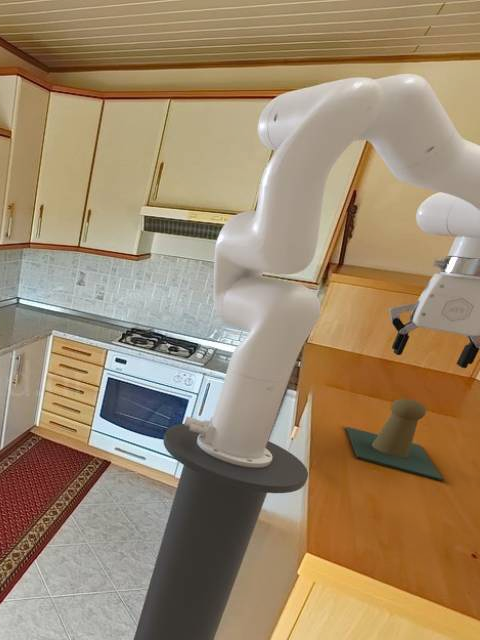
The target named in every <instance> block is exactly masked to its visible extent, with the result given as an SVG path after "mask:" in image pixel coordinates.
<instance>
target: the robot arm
mask: <svg viewBox="0 0 480 640" xmlns="http://www.w3.org/2000/svg"><path fill="white" fill-rule="evenodd" d="M257 134H258V138H259V141H260V142H261V144H262V145H263V146H265V147H266V148H267V149H270V150H273V151H275V152H274V153H273V155H272V156H271V158H270V159H269V161H268V163H267V165H266V166H265V168H264V170H263V173H262V176H261V178H260V182H259V186H258V187H259V188H258V195H257V201H256V202H257V203H256V209H255V210H247V211H242V212H239V213H236V214H235V215H233V216H231V217H230V219H228V220H227V221H225V223H224V225H223V226H222V228H221V229H220V231H219V234H218V236H217V239H216V242H215V248H214V262H213V282H212V283H213V287H212V302H213V303H212V304H213V308H214V312H215V314H216V315H217V317H218V318H219V319H220V320H221V321H223V322H224V323H227V324H228V325H230V326H234V327H237V328H240V329H242V330H246V331H247V332H249V333H248V334H247V336H246V337H244V339H243V340H242V341H241V342H240V343H239V344H238V345H237V346H236V348H235V349H234V351H233V353H232V354H231V357H230V360H229V363H228V366H227V369H226V373H225V376H224V379H223V383H222V386H221V388H220V389H221V390H220V393H219V397H218V400H217V403H216V407H215V410H214V413H213V416H211V417H210V420H208V419H207V420H206V419H204V420H199V419H197V418H194V417H191V416H186V417H185V420H184V423H183V424H184V426H187V427H190V428H189V431H193V432H197V433H201V434H199V436H198V438H197V444H198V445H199V447H200V448H201V449H202V450H203V451H205V452H206V453H208V454H209V455H211V456H213V457H215V458H217V459H219V460H222V461H224V462H227V463H231V464H234V465H238V466H243V467H250V468H262V467H266V466H268V465H270V464H271V461H272V454H271V453H270V452H269V451H268V450H267V449H266V448H265V447H266V444H267V442H268V441H269V439H270V436H271V433H272V429H273V426H274V424H275V421H276V418H277V415H278V413H279V410H280V407H281V404H282V401H283V398H284V395H285V393H286V390H287V387H288V384H289V381H290V378H291V375H292V372H293V369H294V367H295V364H296V362H297V360H298V357H299V355H300V352H301V350H302V349H303V347H304V345H305V343H306V341H307V340H308V338H309V336H310V334H311V333H312V332H313V330H314V328H315V327H316V325H317V323H318V322H319V321H318V320H319V318H320V315H321V302H320V301H321V300H320V299H319V297H318V296H317V294H316V293H315V292H314V291H313V290H312V289H311V288H308V287H307V286H304V285H302V284H300V283H298V282H297V283H296V282H293V281H289V280H284V279H278V278H274V277H267V276H263V273H268V274H274V275H284V276H285V275H295V274H298V273H301V272H303V271H304V270H306V269H307V268H308V267H309V266H310V265H311V263H312V261H313V260H314V257H315V254H316V251H317V247H318V240H319V232H320V225H321V217H322V208H323V201H324V194H325V188H326V183H327V180H328V177H329V175H330V173H331V170H332V168H333V167H334V165H335V164H336V162H337V161H338V159H339V158H340V157H341V156H342V155H343V154H344V152H345V151H346V150H347V149H348V148H349V147H350V146H351V145H352V144H353V143H354V142H357V141H367V142H368V143H370V144H371V145H372V147H373V149H375V151H376V152H377V154H378V155H379V156H380V158H381V160H382V161H383V162H384V163H385V165H386V166H387V168H388V170H389V171H390V172H391V174H392V175H393V176H394V177H395V178H396V179H397V180H399V181H401V182H403V183H405V184H408V185H411V186H413V187H417V188H421V189H424V190H429V191H434V192H436V193H434V194H431V195H430V196H429V197H427V198H425V200H423V201H422V203H420V205H419V206H418V208H417V210H416V213H415V214H416V215H415V221H416V225H417V226H418V227H419V229H421V231H423V232H425V233H427V234H430V235H434V236H442V237H455V238H454V241H453V243H452V245H451V247H450V250H449V252H448V254H447V256H445V257H444V258H436V259H434V261H433V263H432V266H433V267H437V268H438V269H439V273H434V274H433V275H432V277H431V278H430V280H429V281H428V282H427V284H426V286H424V289H423V290H422V292H421V294H420V296H419V298H418V300H417V301H415V302H411V303H406V304H402V305H397V306H392V307H390V308H389V309H388V313H389V317H390V322H391V324H392V326H393V327H394V328H395V330H396V331H397V334H396V336H395V339H394V341H393V343H392V346H391V349H392V350H393V353H394V354H395V355H397V356H401V355H402V354H403V352H404V350H405V347H406V346H407V343H408V341H409V339H410V336H409V333H410V332H413V331H414V330H416V329H418V328H422V329H426V330H432V331H436V332H437V331H438V332H442V333H448V334H454V335H458V336H459V335H461V336H466V338H467V340H468V341H469V343H468V344H465V345H464V347H463V349H462V351H461V353H460V355H459V357H458V359H457V360H456V361H457V362H456V365H457V366H458V367H460V368H461V369H467V368H468V366H469V365H472V364H473V363H474V361H475V359H476V357H477V355H478V353H479V351H480V145H479V144H477V143H475V142H473V141H470V140H467V139H465V138H463V137H461V135H460V133H459V132H458V130H457V129H456V127H455V125H454V123H453V121H452V120H451V118H450V117H449V115H448V113H447V112H446V110H445V109H444V107H443V105H442V103H441V102H440V100H439V99H438V97H437V95H436V93H435V91H434V90H433V88H432V87H431V85H430V83H429V82H428V81H427V80H426V79H425V78H424V77H423V76H420V75H419V74H415V73H400V74H394V75H389V76H384V77H379V78H375V79H373V78H370V77H364V76H363V77H361V76H357V77H348V78H343V79H337V80H332V81H328V82H323V83H320V84H316V85H313V86H307V87H305V88H303V87H302V88H300V89H295V90H291V91H287V92H283V93H281V94H279V95H277V96H276V97H274V98H273V99H272V100H271V101H269V102H268V104H267V105H266V106H264V108H263V110H262V112H261V114H260V116H259V119H258V122H257ZM407 312H411V314H410V316H409V320H408V321H406V322H405V323H403V321H402V320H401V316H400V315H401V314H403V313H407Z"/></svg>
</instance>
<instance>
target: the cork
mask: <svg viewBox="0 0 480 640" xmlns="http://www.w3.org/2000/svg"><path fill="white" fill-rule="evenodd" d="M390 410H391V414H390V416H389V417H388V419H387V420H386V422H385V423H384V425H383V426H382V428H381V430H380V431H379V432H378V434H377V435H378V436H377V437H376V439H375V441H374V442H373V444H372V446H373V447H374V448H375V449H377V450H379V451H381V452H383V453H386V454H389V455H392V456H397V457H409V453H410V449H411V445H412V443H413V440H414V437H415V435H416V430H417V426H418V422H419V420H422V419H423V418H424V417H425V415H426V413H427V408H426V406H425V405H424V404H423V403H421V402H419V401H416V400H414V399H413V400H412V399H408V398H398V399H395V400H394V401H393V402H392V404H391V408H390Z"/></svg>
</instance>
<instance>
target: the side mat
mask: <svg viewBox="0 0 480 640" xmlns="http://www.w3.org/2000/svg"><path fill="white" fill-rule="evenodd" d="M345 430H346V432H347V434H348V438H349V440H350V443H351V446H352V448H353V451H354V454H355V457H356V459H358V460H362V461H365V462H369V463H372V464H377V465H380V466H383V467H387V468H391V469H394V470H399V471H402V472H406V473H409V474H414V475H417V476H421V477H424V478H428V479H432V480H435V481H440V482H443V480H444V478H443V477H442V476H441V474H440V472H439V471H438V469H437V468H436V466H435V465H434V464H433V462H432V460H430V458H429V456H428V455H427V454H426V452H425V451H424V449H423V447H422V446H421V445H420V444H418V443H413V442H412V445H411V449H410V453H409V457H397V456H392V455H389V454H386V453H383V452H381V451H379V450H377V449H375V448H374V447H373V446H372V444H373V442H374V441H375V439H376V437H377V436H378V434H377V433H373V432H369V431H365V430H361V429H357V428H354V427H349V426H346V428H345Z"/></svg>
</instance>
